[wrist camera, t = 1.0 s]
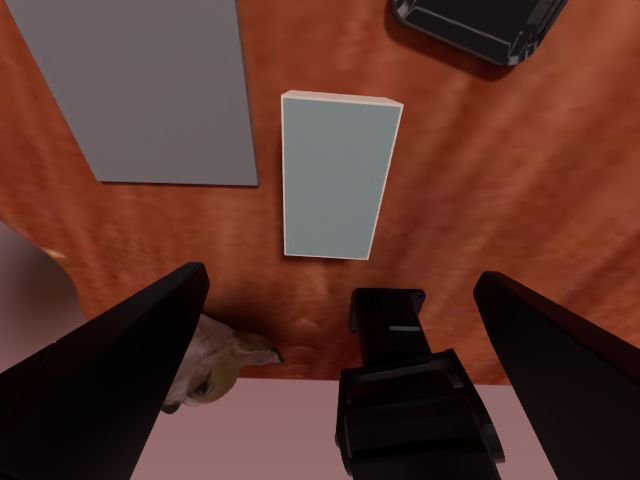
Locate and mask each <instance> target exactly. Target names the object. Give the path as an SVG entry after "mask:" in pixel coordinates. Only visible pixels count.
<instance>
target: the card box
mask: <svg viewBox="0 0 640 480" xmlns="http://www.w3.org/2000/svg"><path fill="white" fill-rule="evenodd" d="M403 105H404V104H401V103H398V102H396V101H393V100H390V99H388V98H383V97H370V96H357V95H344V94H332V93H319V92H306V91H293V90H290V91H288V92H286V93H284V94H282V95H281V113H282V161H283V209H284V255H294V256H311V257H327V258H344V259H361V260H368V258H369V253H370V249H371V245H372V240H373V236H374V232H375V227H376V223H377V219H378V214H379V210H380V206H381V201H382V197H383V192H384V188H385V184H386V179H387V175H388V171H389V166H390V162H391V158H392V153H393V149H394V145H395V140H396V136H397V131H398V127H399V123H400V118H401V114H402V110H403Z"/></svg>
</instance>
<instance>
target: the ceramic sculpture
mask: <svg viewBox="0 0 640 480" xmlns="http://www.w3.org/2000/svg"><path fill="white" fill-rule="evenodd" d="M270 362H271V363H278V364H285V363H286V362H285V360H284V358H283V357H282V355H281V354H280V352H279V351H278V349H277V348H276V347H275V346H274V345H273V344H272V343H271V342H270V341H269V340H267V339H266V338H265V337H263V336H261V335H258V334H254V333H249V332H244V331H236V330H234V329H232V328H231V327H229V326H227V325H225V324H223V323H221V322H218V321H216V320H214V319H211V318H209V317H207V316H206V315H203V314H201V315H200V319H199V322H198V325H197V328H196V331H195V333H194V335H193V338H192V340H191V342H190V345H189V347H188V349H187V351H186V354H185V356H184V358H183V361H182V363H181V365H180V367H179V370H178V372H177V374H176V376H175V379H174V381H173V383H172V385H171V388H170V390H169V392H168V394H167V397H166V399H165V401H164V403H163V406H162V408H161V411H163V412H164V413H167V414H173V413H174V412H176V411H177V409H178V408H179V407H180V406H181V404H182V403H185V404H186V405H187V406H191V407H192V406H200V405H204V404H208V403H211V402H214V401H215V400H217V399H219V398H221V397H222V396H224V395H225V394H226V393H227V392H228V391H229V390H230V389H231V388H232V386H233V385H234V384H235V382H236V380H237V377H238V374H239V372H240V370H241V368H242V367H243V366H244V365H254V366H260V365H264V364H267V363H270Z"/></svg>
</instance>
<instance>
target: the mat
mask: <svg viewBox="0 0 640 480" xmlns="http://www.w3.org/2000/svg"><path fill="white" fill-rule="evenodd" d="M4 1H5V2H6V4H7V6H8V8H9V10H10V12H11V14H12V16H13V18H14V20H15V22H16V24H17V26H18V28H19V30H20V32H21V34H22V36H23V38H24V39H25V41H26V43H27V45H28V47H29V49H30V51H31V53H32V55H33V57H34V59H35V61H36V63H37V65H38V67H39V69H40V71H41V73H42V74H43V76H44V78H45V80H46V82H47V84H48V86H49V88H50V90H51V92H52V94H53V96H54V98H55V100H56V102H57V104H58V106H59V108H60V110H61V111H62V113H63V115H64V117H65V119H66V121H67V123H68V125H69V127H70V129H71V131H72V133H73V135H74V137H75V139H76V141H77V143H78V145H79V147H80V148H81V150H82V152H83V154H84V156H85V158H86V160H87V162H88V164H89V166H90V168H91V170H92V172H93V174H94V176H95V178H96V180H97V181H114V182H150V183H186V184H222V185H259V177H258V169H257V161H256V153H255V145H254V137H253V128H252V120H251V112H250V104H249V96H248V87H247V79H246V71H245V63H244V55H243V47H242V38H241V30H240V22H239V14H238V6H237V0H4Z"/></svg>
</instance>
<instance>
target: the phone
mask: <svg viewBox="0 0 640 480" xmlns="http://www.w3.org/2000/svg"><path fill="white" fill-rule="evenodd" d="M567 1H568V0H391V7H392V11H393V14H394V16H395V17H396V19H397V20H398V21H399V22H400V23H402V24H403V25H405V26H407V27H410V28H412V29H414V30H416V31H419V32H421V33H423V34H425V35H428V36H430V37H432V38H435V39H437V40H439V41H441V42H444V43H446V44H448V45H450V46H453V47H455V48H457V49H459V50H462V51H464V52H466V53H468V54H471V55H473V56H475V57H477V58H480V59H482V60H484V61H486V62H489V63H491V64H493V65H497V66H510V65H515V64H518V63H520V62H522V61H524V60H526V59H527V58H528V57H529V56H530V55H532V54H533V52H534V51H535V50H536V49H537V47H538V46H539V45H540V43H541V42H542V40H543V39H544V37H545V35H546V34H547V32H548V31H549V29H550V28H551V26H552V25H553V23H554V22H555V20H556V18H557V17H558V15H559V14H560V12H561V11H562V9H563V8H564V6H565V5H566V3H567Z"/></svg>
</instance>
